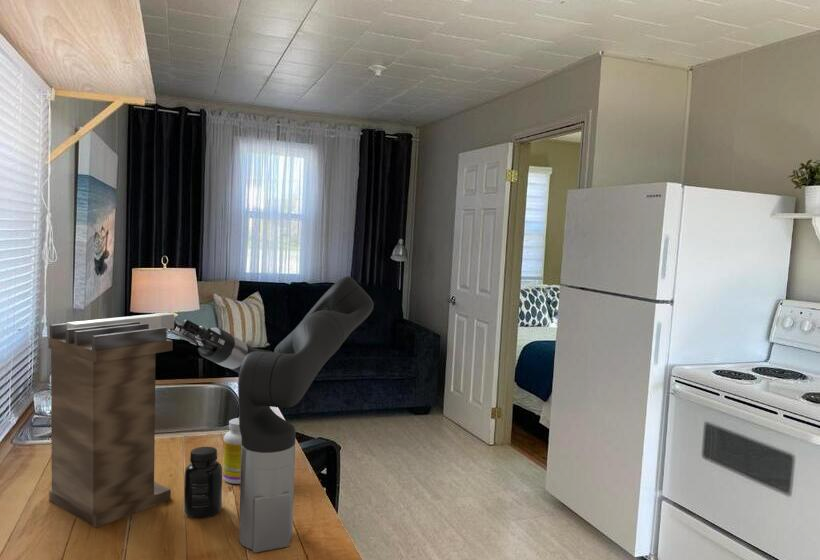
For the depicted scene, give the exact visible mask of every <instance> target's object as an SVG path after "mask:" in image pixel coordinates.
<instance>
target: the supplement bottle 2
mask: <svg viewBox="0 0 820 560" xmlns="http://www.w3.org/2000/svg"><path fill="white" fill-rule="evenodd" d="M228 429H229V431H227V432H226V433H225V434H224V435H223V436H224V437H223V455H222V456H223V460H222V462H223V463H222V480H223V481H225V482H226V483H228V484H232V485H233V484H235V485H236V484H237V485H240V480H241V441H242V437H241V433H240V429H239V417H235V418H232V419H230V420H228Z"/></svg>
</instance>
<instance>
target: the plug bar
mask: <svg viewBox="0 0 820 560" xmlns="http://www.w3.org/2000/svg"><path fill="white" fill-rule="evenodd" d="M174 321H175V313H171V312H166V311H165V312H156V313H150V314H149V313H147V314H139V315H131V316H130V315H129V316H128V315H127V316H118V317H108V318H100V319H99V318H97V319H90V320H88V319H87V320H79V321H68V322H66V323H67V329H72V328H81V327H90V326H99V325H109V324H118V323H127V322H140V324H144V323H146V324H149V329H153V328H162V327H165V328H167V329H173V328H174Z"/></svg>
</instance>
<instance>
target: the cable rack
mask: <svg viewBox="0 0 820 560" xmlns="http://www.w3.org/2000/svg"><path fill="white" fill-rule="evenodd" d="M167 335H168V331H167V328H165V327H162V328H153V329H149V324H146V323H144V324H140V322H127V323H118V324H109V325H99V326H90V327H81V328H72V329H67V322H65V323H55V324H50V325H49V337H48V340H47V341H48V349H50V369H51V370H50V372H51V373H50V374H51V375H50V376H51V378H50V381H51V382H50V383H51V384H50V390H51V391H50V397H51V399H50V401H51V402H50V403H51V404H50V407H51V410H50V411H51V415H50V416H51V417H50V418H51V423H50V424H51V426H50V427H51V431H50V432H51V433H50V434H51V435H50V436H51V489H49V491H48V493H49V494H48V499H49V500H48V501H50V502H52V503H53V504H55V505H57V506H58V507H60V508H61V509H63V510H65V511H67V512H69V513H70V514H72V515H74V516H75V517H77V518H78V519H80V520H82V521H84V522H85V523H87V524H89V525H91V526H93V528H99V527H102V526H105V525H107V524H109V523H112V522H115V521H117V520H120V519H123V518H125V517H128V516H131V515H133V514H135V513H138V512H141V511H144V510H146V509H149V508H150V507H154V506H156V505H159V504H162V503H164V502H167V501H169V500H171V495H172V492H171V491H172V490H171V488H168V487H166V486H164V485H162V484H159V482H158V483H157V482H156V481H155V448H156V447H155V444H156V442H155V441H156V440H155V432H156V425H155V424H156V422H155V421H156V417H155V416H156V358H157V357H156V356H157V355H156V354H159V353H166V352H172V351H173V348H174V347H173V343H174V342H173V340H172V339H170V338H169V339H168V337H167Z"/></svg>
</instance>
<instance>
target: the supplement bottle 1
mask: <svg viewBox="0 0 820 560" xmlns="http://www.w3.org/2000/svg"><path fill="white" fill-rule="evenodd" d="M189 462H190V463H189V464H188V465H187V466H186V468H185V469H184V494H183V495H184V499H183V501H184V506H183V510H184V514H185V515H186V516H187V517H188V518H191V519H197V520H199V519H201V520H202V519H208V518H212V517H214V516H216V515H218V514H219V513H220V512H221V510H222V505H223V504H222V503H223V502H222V501H223V497H222V496H223V465H222V464H221V463H220V462H219V461H218V450H217V448H216V447H213V446H199V447H195V448H193V449H191V450H190V458H189Z"/></svg>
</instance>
